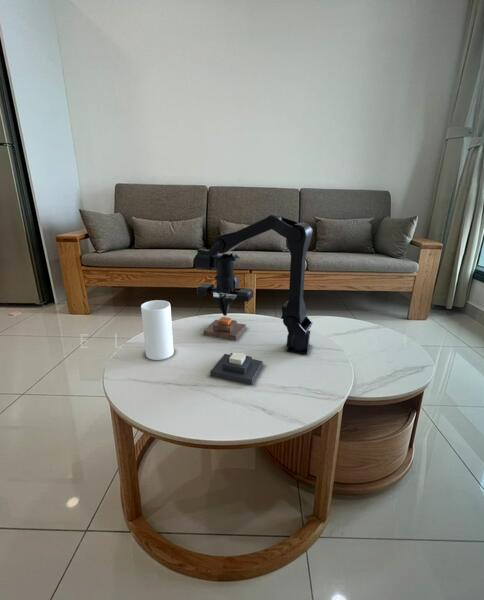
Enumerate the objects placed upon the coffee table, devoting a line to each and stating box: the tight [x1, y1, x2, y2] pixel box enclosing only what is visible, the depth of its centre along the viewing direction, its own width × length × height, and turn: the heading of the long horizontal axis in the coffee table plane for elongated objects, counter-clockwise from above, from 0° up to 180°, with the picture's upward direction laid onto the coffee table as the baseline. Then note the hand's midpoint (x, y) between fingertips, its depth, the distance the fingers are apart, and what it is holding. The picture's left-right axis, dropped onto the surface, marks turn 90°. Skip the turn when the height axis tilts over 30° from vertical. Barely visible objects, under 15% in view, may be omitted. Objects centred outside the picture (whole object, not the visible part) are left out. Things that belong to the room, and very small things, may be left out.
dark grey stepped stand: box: [210, 352, 264, 386], centre depth 91 cm, size 12×10×4 cm
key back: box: [218, 316, 233, 326], centre depth 113 cm, size 4×4×2 cm
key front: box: [229, 351, 247, 365], centre depth 90 cm, size 4×4×2 cm
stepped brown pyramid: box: [203, 317, 247, 341], centre depth 114 cm, size 12×10×4 cm
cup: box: [140, 299, 175, 361], centre depth 97 cm, size 8×8×16 cm
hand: (225, 315), depth 112 cm, fingers closed
